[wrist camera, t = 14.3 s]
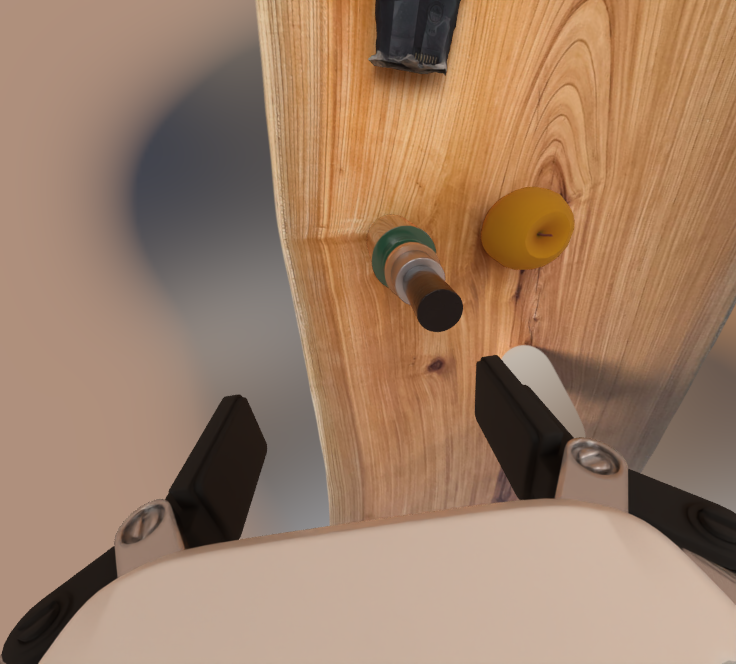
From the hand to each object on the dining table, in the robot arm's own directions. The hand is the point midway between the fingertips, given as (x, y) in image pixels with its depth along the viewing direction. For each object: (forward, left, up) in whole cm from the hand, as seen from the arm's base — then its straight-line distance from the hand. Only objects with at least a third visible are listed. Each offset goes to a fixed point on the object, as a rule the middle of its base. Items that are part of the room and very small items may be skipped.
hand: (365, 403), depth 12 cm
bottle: (+5, +2, -34) cm, 34 cm away
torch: (+5, +2, -17) cm, 18 cm away
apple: (+19, +10, -34) cm, 40 cm away
